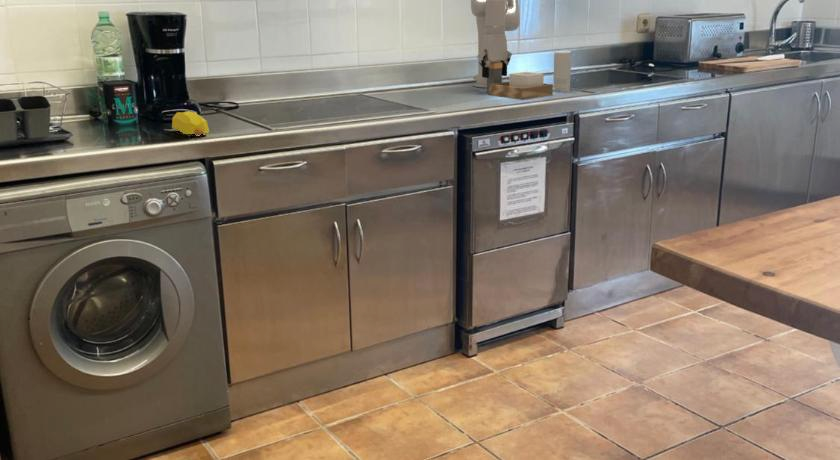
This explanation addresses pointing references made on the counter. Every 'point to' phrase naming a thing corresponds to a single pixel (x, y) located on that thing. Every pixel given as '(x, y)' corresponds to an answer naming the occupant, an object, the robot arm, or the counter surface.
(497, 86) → the crate
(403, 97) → the counter surface
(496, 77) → the square peg
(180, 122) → the yellow lump
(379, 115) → the counter surface
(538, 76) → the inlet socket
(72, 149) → the counter surface
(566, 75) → the skincare box
